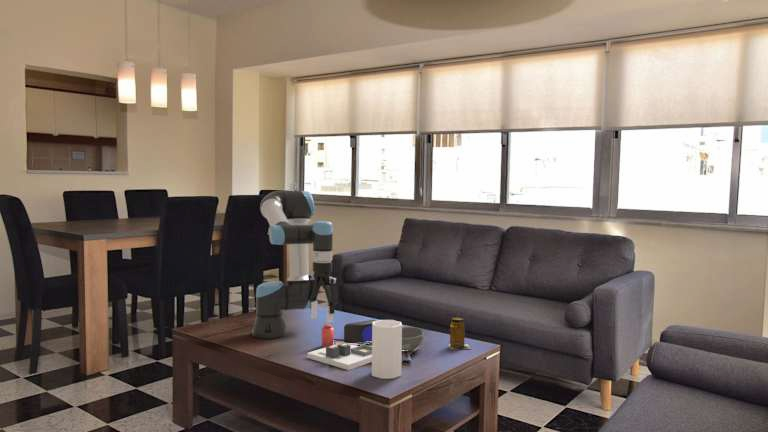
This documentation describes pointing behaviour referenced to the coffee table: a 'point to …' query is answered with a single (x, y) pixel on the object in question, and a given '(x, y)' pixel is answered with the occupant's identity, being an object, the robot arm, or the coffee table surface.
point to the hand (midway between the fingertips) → (322, 319)
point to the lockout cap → (327, 335)
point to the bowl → (411, 338)
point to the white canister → (386, 349)
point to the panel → (345, 357)
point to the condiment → (457, 334)
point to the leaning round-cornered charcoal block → (358, 332)
